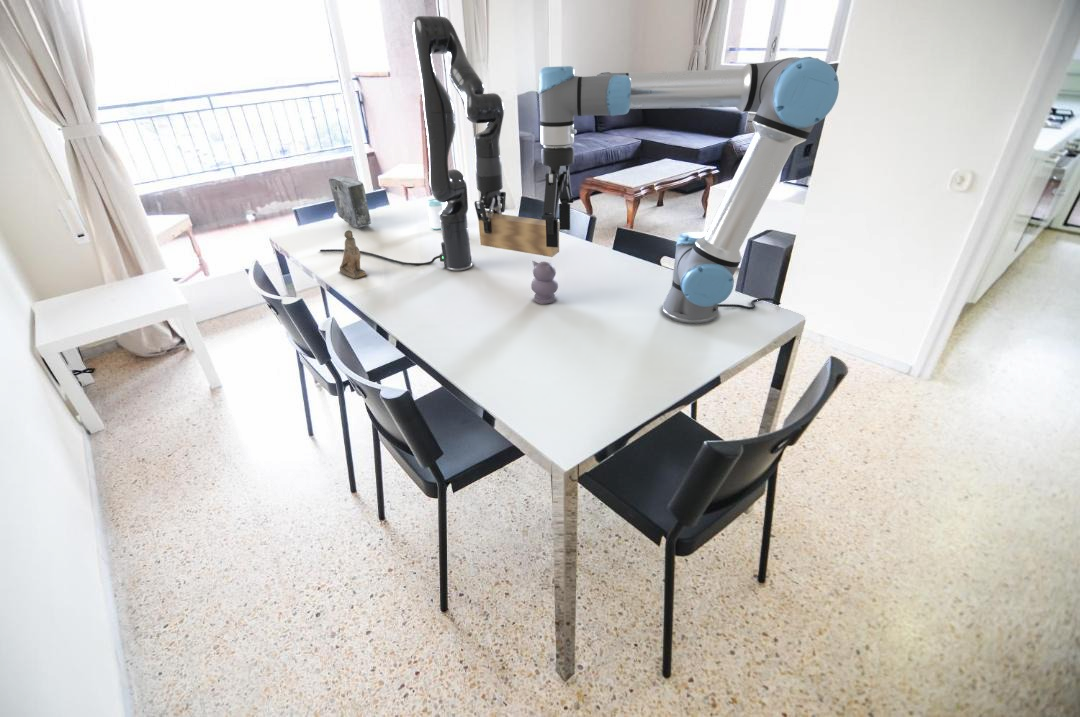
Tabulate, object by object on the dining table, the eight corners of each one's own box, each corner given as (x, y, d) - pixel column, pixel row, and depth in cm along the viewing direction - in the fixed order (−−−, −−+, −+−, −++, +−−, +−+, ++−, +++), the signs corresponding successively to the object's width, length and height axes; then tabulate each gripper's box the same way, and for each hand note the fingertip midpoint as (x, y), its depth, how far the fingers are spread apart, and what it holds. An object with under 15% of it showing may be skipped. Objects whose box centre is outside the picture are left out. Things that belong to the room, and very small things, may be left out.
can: (445, 229, 220) (441, 202, 214) (429, 230, 220) (425, 202, 214) (447, 224, 226) (444, 198, 220) (432, 225, 226) (428, 198, 220)
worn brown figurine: (368, 281, 178) (362, 235, 166) (353, 285, 175) (347, 238, 163) (352, 266, 184) (346, 221, 172) (338, 270, 181) (331, 224, 169)
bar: (480, 245, 153) (478, 216, 149) (488, 240, 157) (486, 212, 152) (552, 257, 143) (551, 226, 139) (559, 251, 147) (559, 222, 142)
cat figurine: (563, 298, 154) (563, 262, 147) (546, 307, 149) (545, 269, 143) (543, 291, 159) (542, 255, 152) (526, 299, 154) (524, 263, 148)
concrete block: (376, 229, 224) (366, 183, 213) (356, 233, 219) (346, 186, 209) (356, 217, 242) (347, 174, 232) (338, 220, 238) (327, 177, 228)
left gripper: (491, 166, 149) (494, 222, 158) (463, 176, 139) (469, 235, 148) (512, 168, 146) (515, 225, 155) (486, 178, 136) (490, 239, 145)
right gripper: (561, 155, 101) (562, 255, 112) (584, 137, 121) (583, 223, 132) (526, 155, 103) (530, 253, 114) (554, 137, 123) (555, 222, 134)
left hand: (492, 230), depth 151 cm, fingers closed on bar, 4 cm apart
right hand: (558, 237), depth 123 cm, fingers open, 13 cm apart
